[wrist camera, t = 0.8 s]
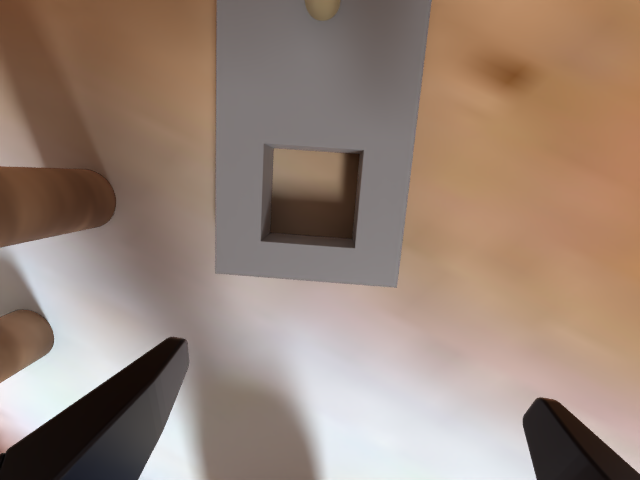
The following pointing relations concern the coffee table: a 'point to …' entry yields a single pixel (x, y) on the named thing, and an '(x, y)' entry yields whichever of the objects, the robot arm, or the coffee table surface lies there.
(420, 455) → the coffee table surface
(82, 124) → the coffee table surface
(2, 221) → the tall pin
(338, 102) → the pin board
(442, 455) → the coffee table surface
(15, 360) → the short pin
